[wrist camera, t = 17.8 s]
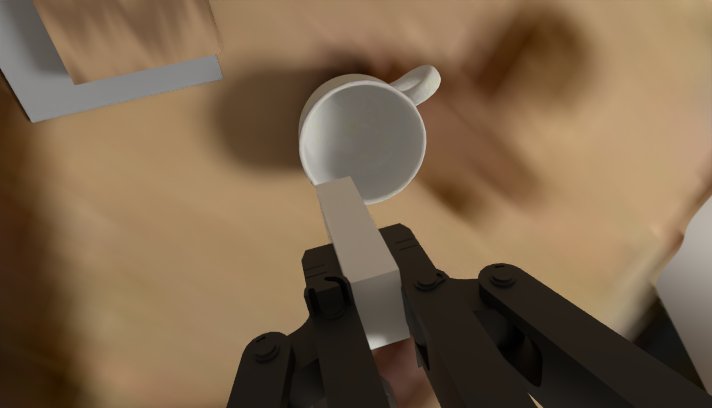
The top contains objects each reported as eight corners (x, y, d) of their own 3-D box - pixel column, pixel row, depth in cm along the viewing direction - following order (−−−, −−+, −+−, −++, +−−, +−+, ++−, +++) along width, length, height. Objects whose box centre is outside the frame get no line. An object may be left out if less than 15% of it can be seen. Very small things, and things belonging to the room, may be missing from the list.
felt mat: (223, 78, 37) (222, 78, 37) (34, 121, 36) (32, 122, 35) (158, -117, 30) (157, -118, 30) (-80, -75, 29) (-84, -75, 28)
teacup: (328, 190, 45) (343, 228, 38) (268, 105, 39) (272, 131, 32) (441, 118, 44) (477, 143, 37) (395, 21, 38) (427, 29, 32)
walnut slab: (221, 53, 33) (74, 85, 32) (223, 47, 36) (89, 76, 35) (177, -85, 28) (4, -54, 27) (183, -78, 31) (29, -50, 30)
